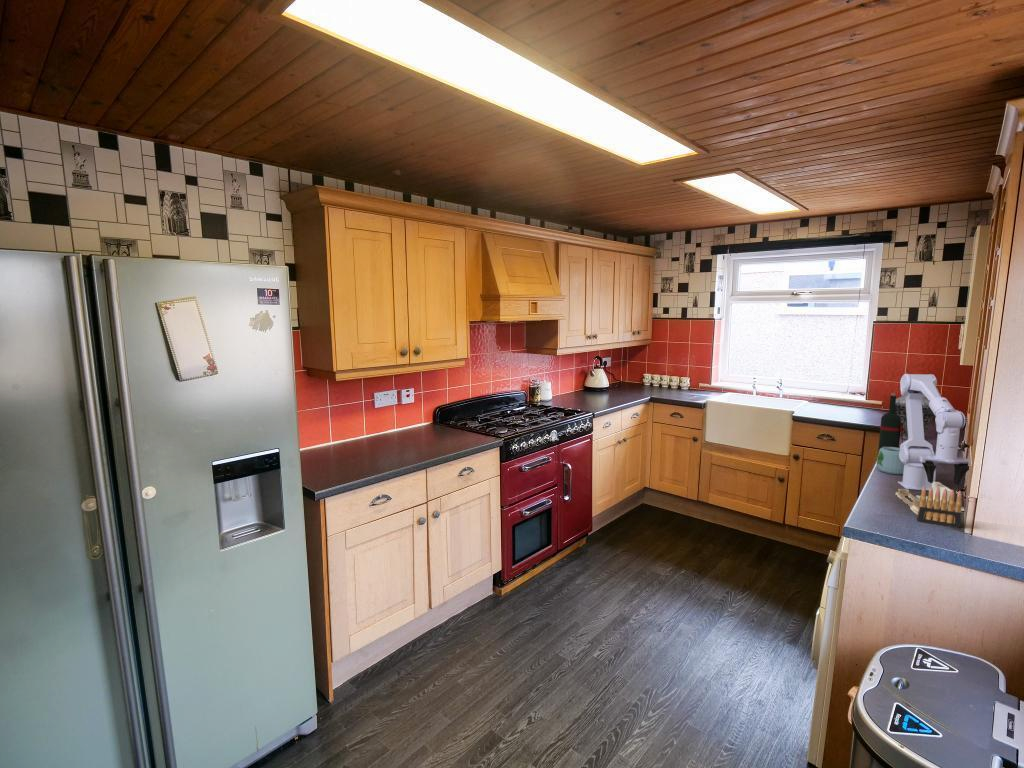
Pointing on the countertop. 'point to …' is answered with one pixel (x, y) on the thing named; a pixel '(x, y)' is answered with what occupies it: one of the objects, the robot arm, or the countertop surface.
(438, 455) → the countertop surface
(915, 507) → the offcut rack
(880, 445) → the wine bottle
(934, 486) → the cream rectangular block
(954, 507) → the sage mat
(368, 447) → the countertop surface
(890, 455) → the mug
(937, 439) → the robot arm
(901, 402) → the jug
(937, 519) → the ammunition clip
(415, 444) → the countertop surface
